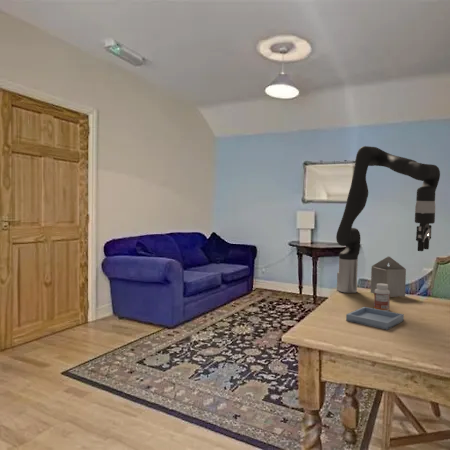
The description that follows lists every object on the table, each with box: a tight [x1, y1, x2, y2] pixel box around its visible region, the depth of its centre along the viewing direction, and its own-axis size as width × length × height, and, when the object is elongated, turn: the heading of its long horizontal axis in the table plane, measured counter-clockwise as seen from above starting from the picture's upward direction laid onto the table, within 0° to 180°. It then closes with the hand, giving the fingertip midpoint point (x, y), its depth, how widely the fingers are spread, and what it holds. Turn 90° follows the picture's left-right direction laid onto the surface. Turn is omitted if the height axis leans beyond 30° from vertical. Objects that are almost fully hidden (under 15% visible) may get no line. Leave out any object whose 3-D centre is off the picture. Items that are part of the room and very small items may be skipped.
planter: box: [370, 256, 407, 298], centre depth 194 cm, size 16×8×19 cm, turn 59°
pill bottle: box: [373, 283, 391, 312], centre depth 167 cm, size 6×6×11 cm
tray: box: [345, 306, 405, 331], centre depth 152 cm, size 16×16×2 cm
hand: (423, 250), depth 164 cm, fingers open, 8 cm apart
